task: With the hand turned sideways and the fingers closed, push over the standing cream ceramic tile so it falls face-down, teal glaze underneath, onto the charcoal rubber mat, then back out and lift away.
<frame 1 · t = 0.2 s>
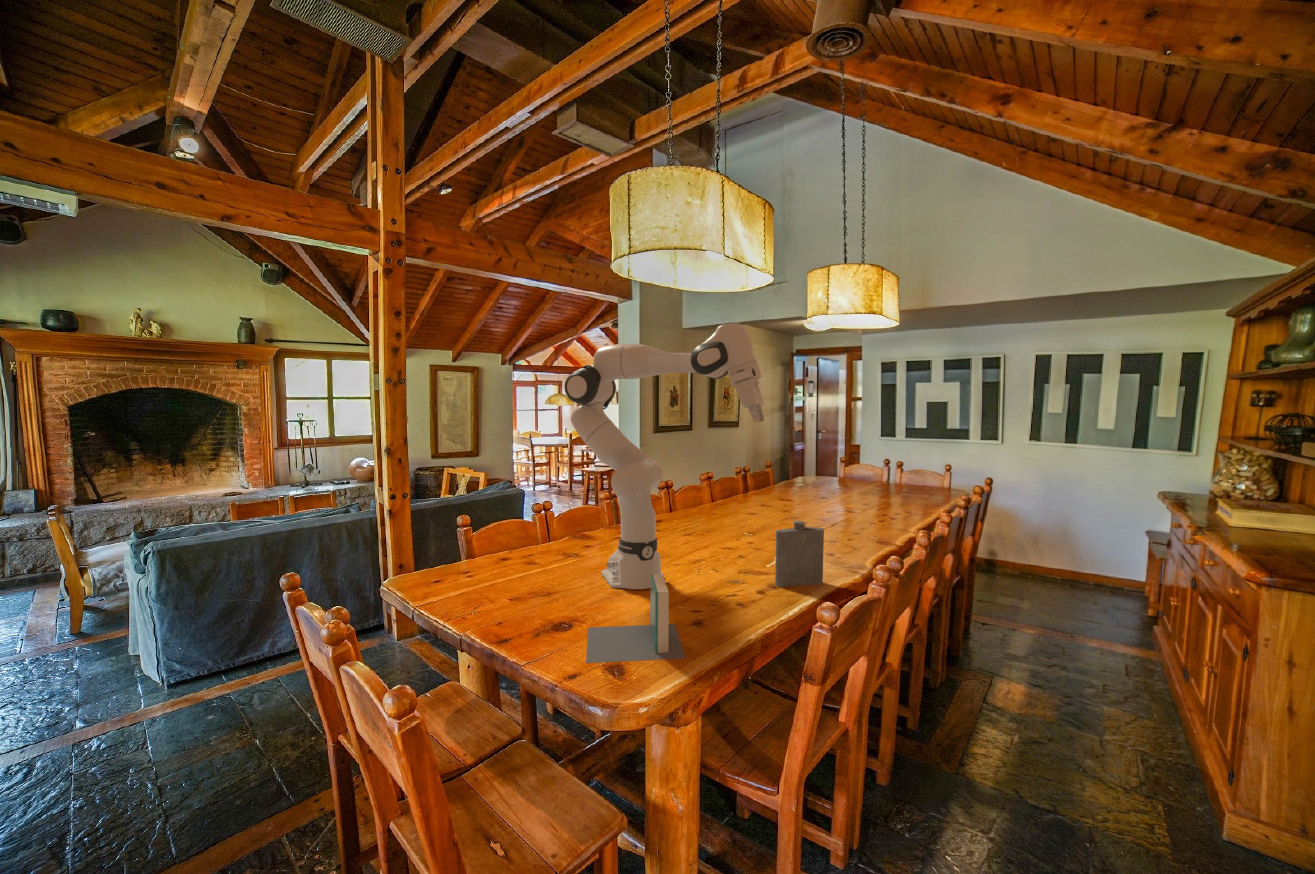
hand: (759, 421, 149), 52 cm above the table, tool tilted 20°, fingers open, 8 cm apart
hip flask: (798, 584, 163), on the table
mat: (633, 643, 122), on the table
tile: (658, 640, 123), resting on mat
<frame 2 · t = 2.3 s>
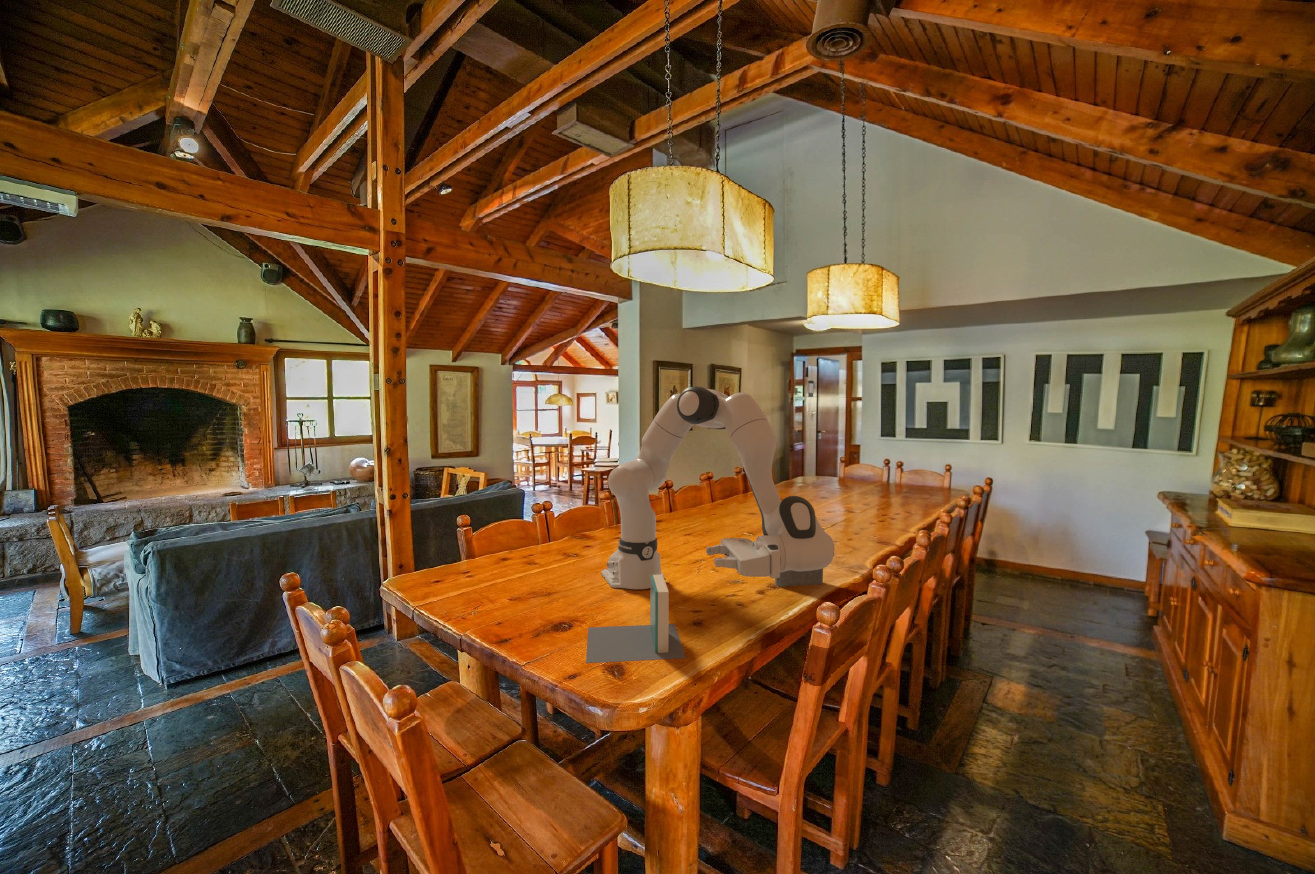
hand: (710, 556, 123), 20 cm above the table, tool horizontal, fingers open, 8 cm apart
nothing on the table moved.
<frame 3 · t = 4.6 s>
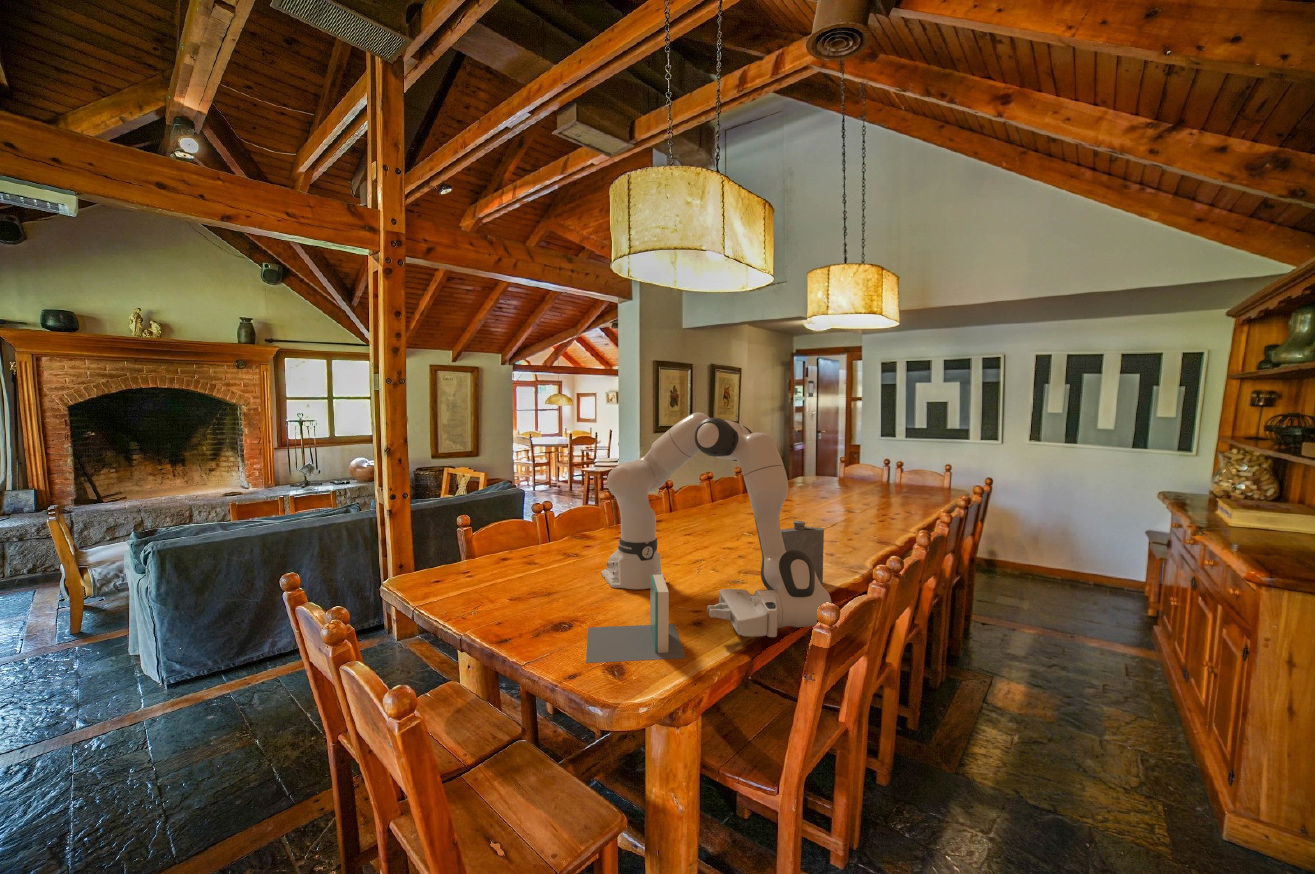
hand: (708, 611, 123), 7 cm above the table, tool horizontal, fingers closed
nothing on the table moved.
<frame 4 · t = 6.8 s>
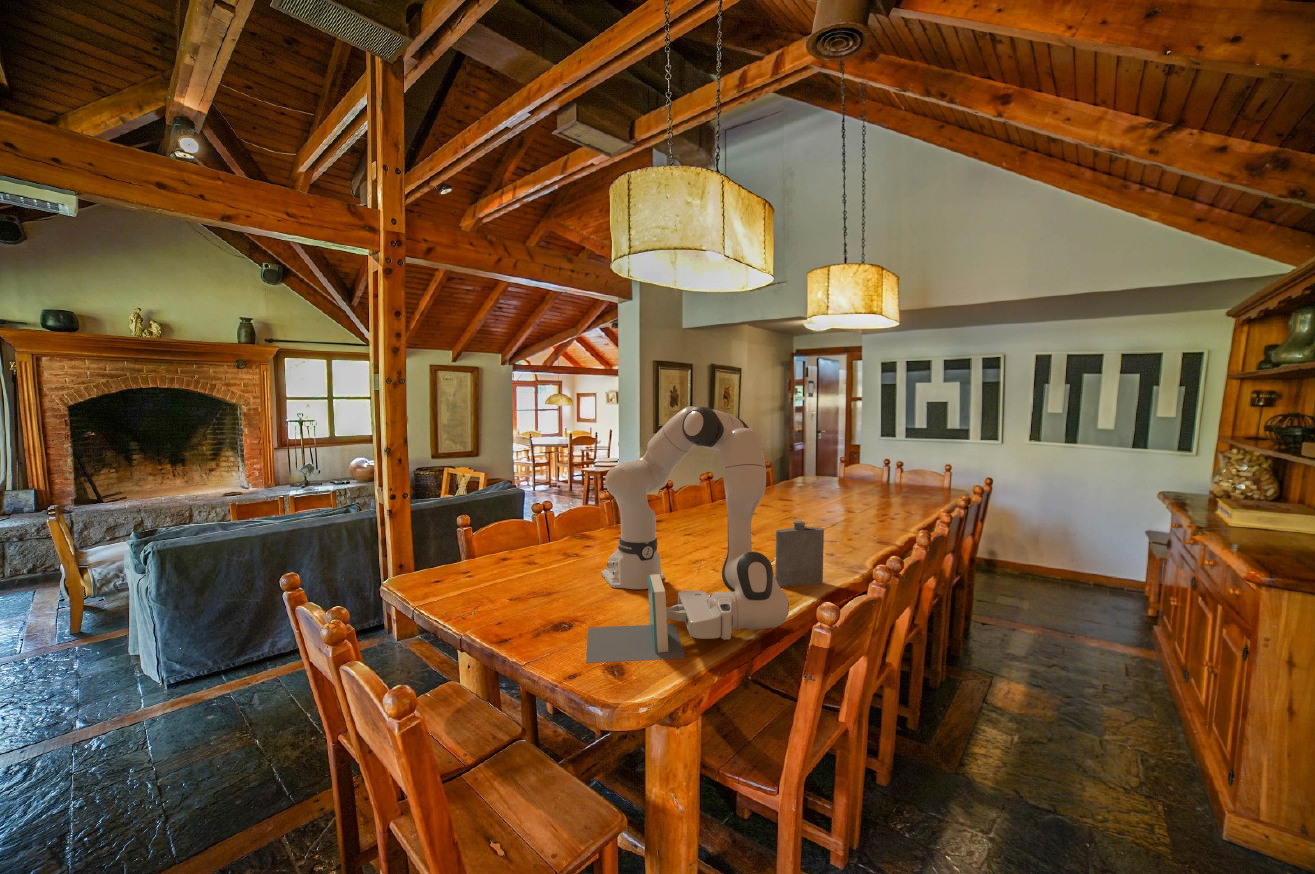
hand: (664, 613, 122), 7 cm above the table, tool horizontal, fingers closed, pressing on tile
tile: (658, 640, 123), resting on mat, touching gripper
everything else where it was.
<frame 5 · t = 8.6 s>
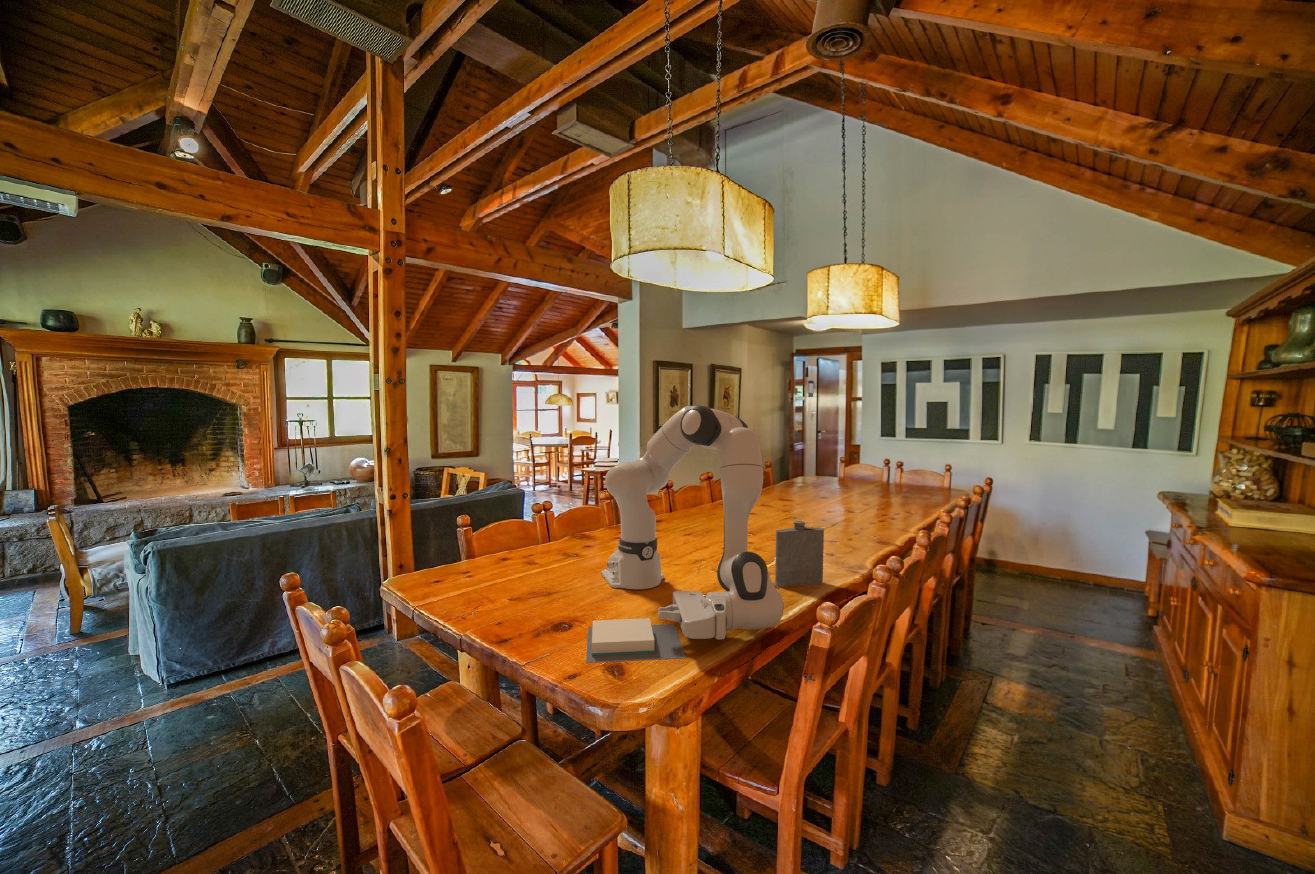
hand: (658, 613, 122), 7 cm above the table, tool horizontal, fingers closed
tile: (651, 634, 122), point 2 cm above the table, tilted 90°, touching mat
everything else where it was.
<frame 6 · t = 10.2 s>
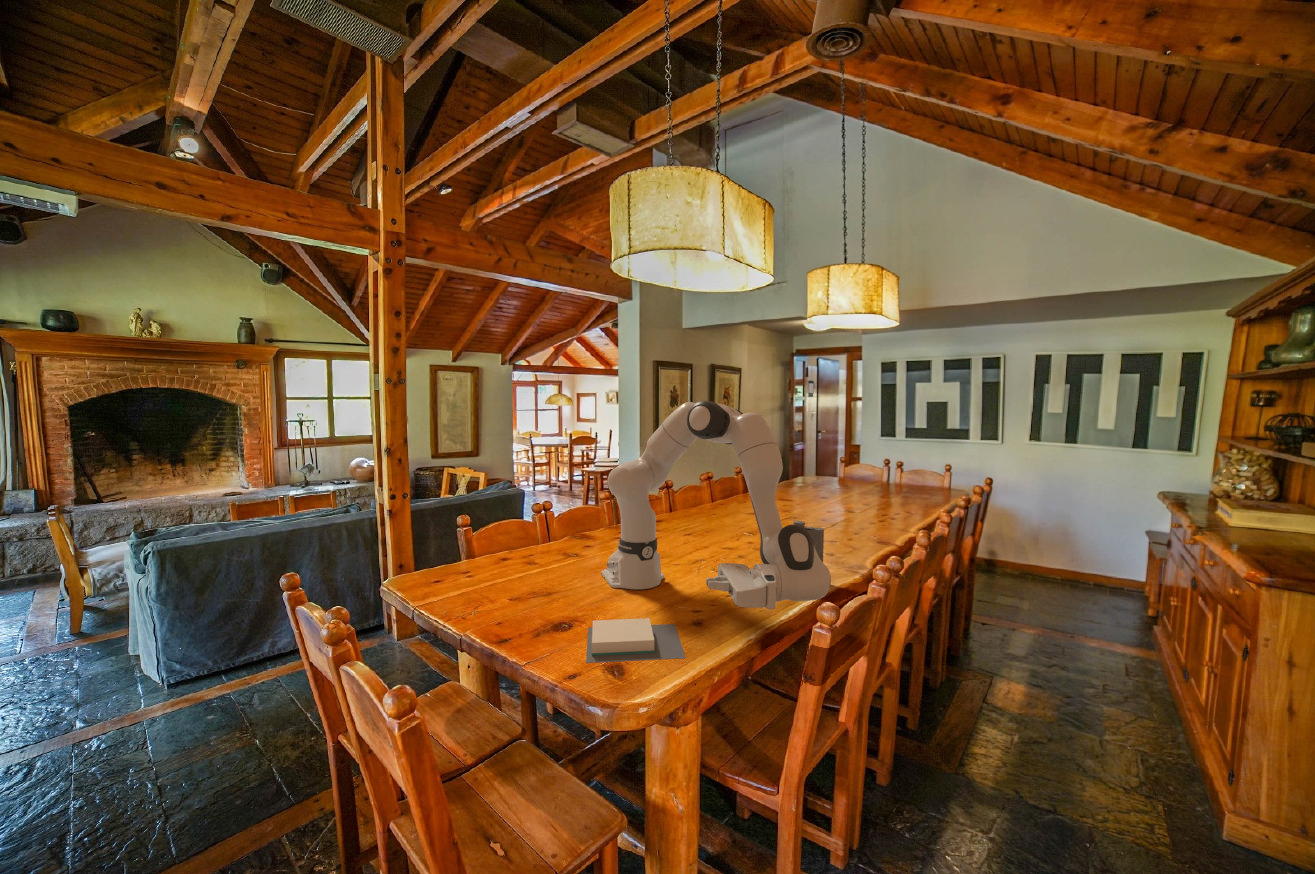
hand: (707, 583, 123), 14 cm above the table, tool horizontal, fingers closed
nothing on the table moved.
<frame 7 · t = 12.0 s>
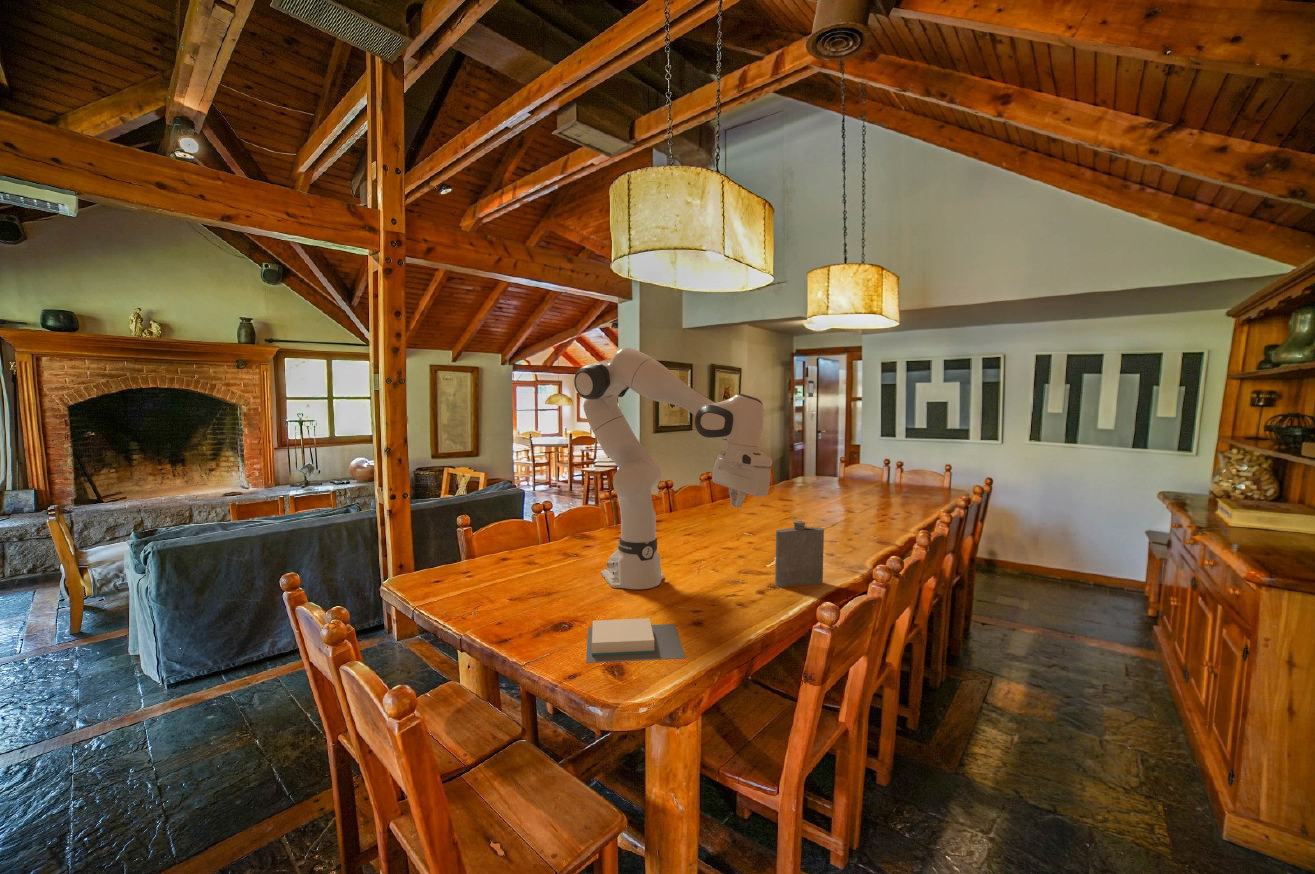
hand: (735, 506, 138), 29 cm above the table, tool pointing down, fingers closed
nothing on the table moved.
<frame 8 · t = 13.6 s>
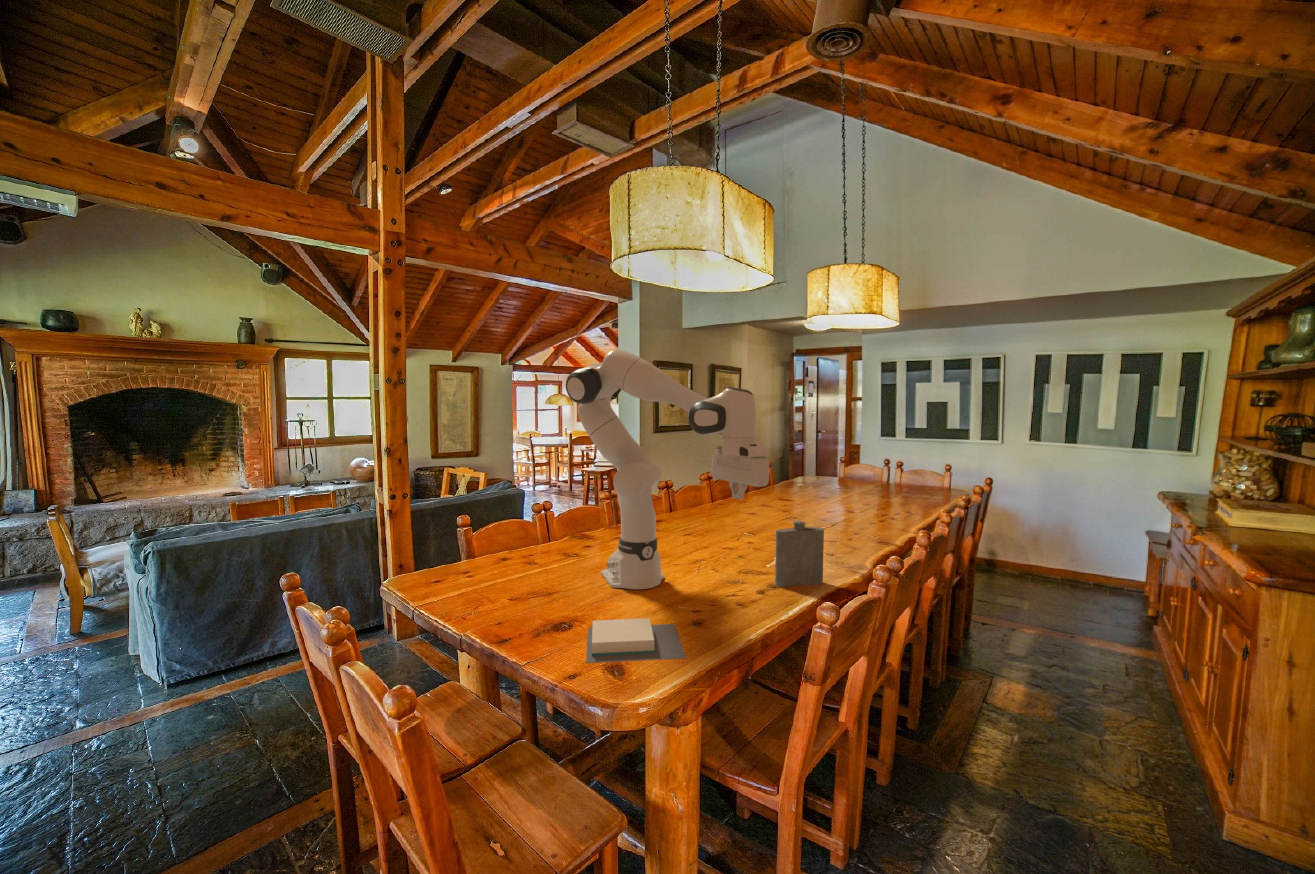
hand: (738, 498, 139), 31 cm above the table, tool pointing down, fingers closed
nothing on the table moved.
at the end: tile tilted 90°; tile inside the target area (2.0 cm from its centre), point 1.9 cm above the table; tile touching mat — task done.
